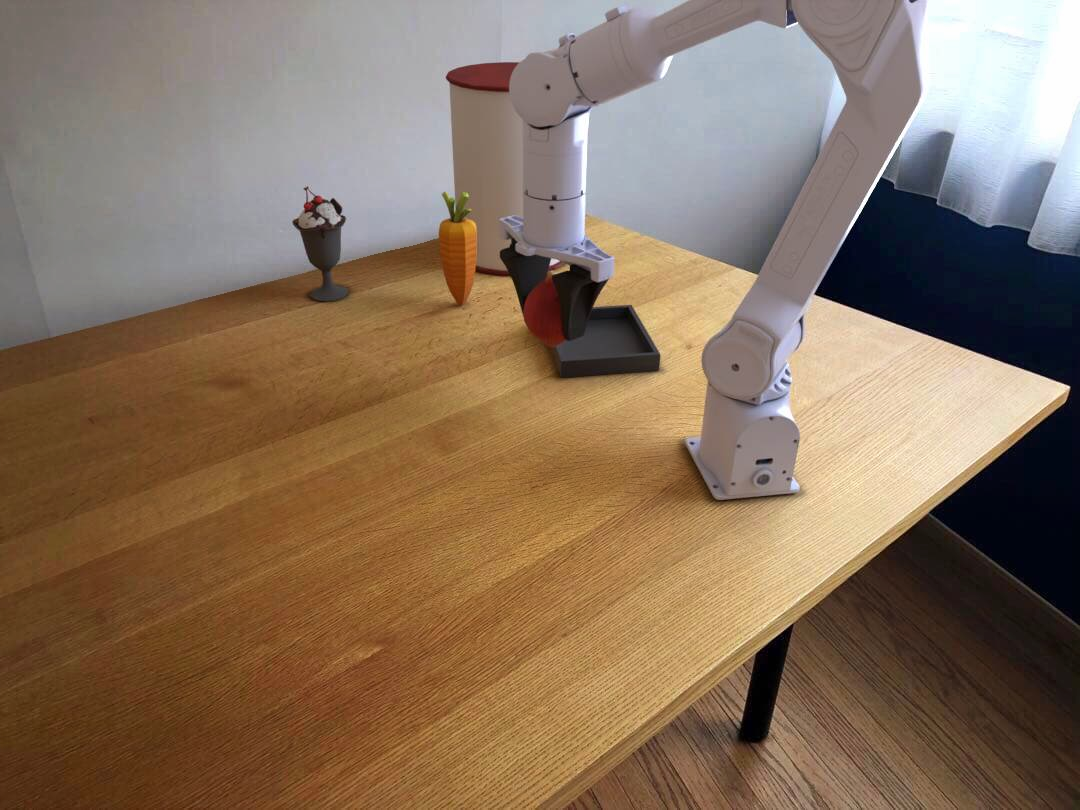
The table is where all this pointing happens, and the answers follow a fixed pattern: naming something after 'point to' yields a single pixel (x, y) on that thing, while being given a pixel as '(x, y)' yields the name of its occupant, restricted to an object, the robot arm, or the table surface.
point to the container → (487, 155)
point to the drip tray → (608, 345)
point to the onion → (544, 312)
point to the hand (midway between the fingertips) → (552, 325)
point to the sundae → (322, 242)
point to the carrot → (458, 248)
